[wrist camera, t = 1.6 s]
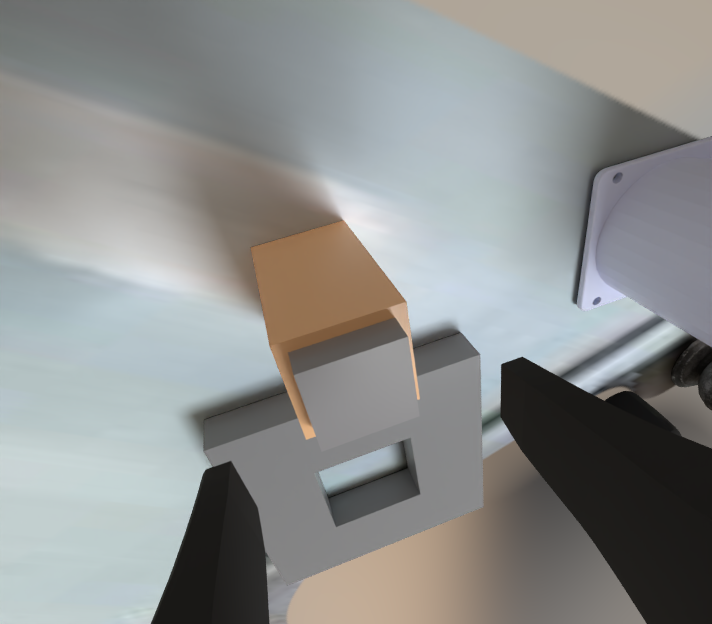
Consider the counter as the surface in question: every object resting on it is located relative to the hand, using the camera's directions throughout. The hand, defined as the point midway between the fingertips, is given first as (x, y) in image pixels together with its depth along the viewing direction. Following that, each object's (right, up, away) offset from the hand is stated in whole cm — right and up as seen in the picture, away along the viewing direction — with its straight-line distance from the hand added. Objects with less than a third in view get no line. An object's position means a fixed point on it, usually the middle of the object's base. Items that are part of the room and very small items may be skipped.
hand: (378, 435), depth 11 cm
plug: (-3, +5, +8) cm, 9 cm away
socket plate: (0, -6, +15) cm, 16 cm away
